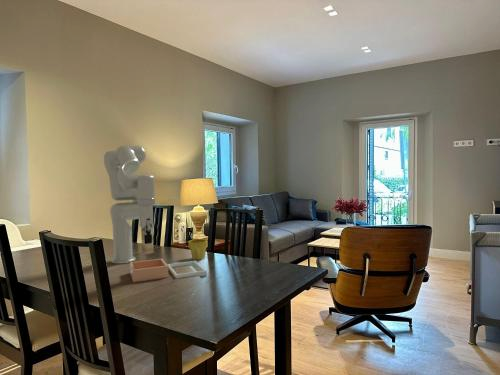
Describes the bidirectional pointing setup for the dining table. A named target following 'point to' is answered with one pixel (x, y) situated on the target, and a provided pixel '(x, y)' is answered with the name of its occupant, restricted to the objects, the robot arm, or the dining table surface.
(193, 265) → the grey tray
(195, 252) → the plant pot
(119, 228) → the robot arm
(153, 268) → the peach square hollow box
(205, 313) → the dining table surface
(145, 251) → the maple peg
